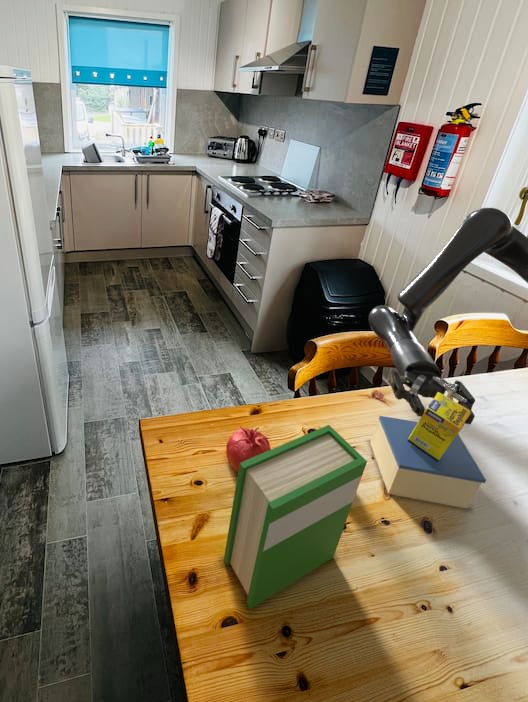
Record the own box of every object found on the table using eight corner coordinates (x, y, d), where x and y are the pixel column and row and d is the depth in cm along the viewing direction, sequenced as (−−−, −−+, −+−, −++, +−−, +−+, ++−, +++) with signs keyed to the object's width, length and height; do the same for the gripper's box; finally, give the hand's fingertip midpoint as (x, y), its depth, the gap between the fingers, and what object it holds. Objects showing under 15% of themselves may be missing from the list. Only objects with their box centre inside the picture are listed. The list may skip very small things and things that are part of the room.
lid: (453, 430, 85) (454, 427, 85) (485, 483, 74) (486, 480, 74) (378, 418, 87) (379, 415, 87) (398, 468, 76) (399, 465, 76)
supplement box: (437, 463, 76) (461, 429, 70) (406, 441, 80) (425, 407, 74) (449, 444, 80) (472, 411, 74) (417, 424, 84) (437, 390, 78)
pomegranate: (249, 494, 78) (255, 461, 74) (215, 458, 85) (219, 426, 82) (281, 469, 84) (289, 437, 80) (247, 437, 91) (252, 406, 87)
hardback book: (249, 610, 61) (272, 509, 51) (223, 561, 67) (239, 463, 57) (332, 558, 68) (367, 461, 58) (302, 519, 74) (328, 424, 64)
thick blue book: (438, 455, 88) (449, 429, 85) (467, 510, 77) (481, 482, 74) (369, 443, 91) (378, 418, 87) (387, 495, 79) (398, 468, 76)
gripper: (384, 344, 89) (411, 396, 74) (453, 354, 87) (494, 408, 72) (375, 371, 92) (400, 425, 77) (441, 380, 90) (479, 438, 75)
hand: (445, 417), depth 75 cm, fingers closed on supplement box, 8 cm apart
